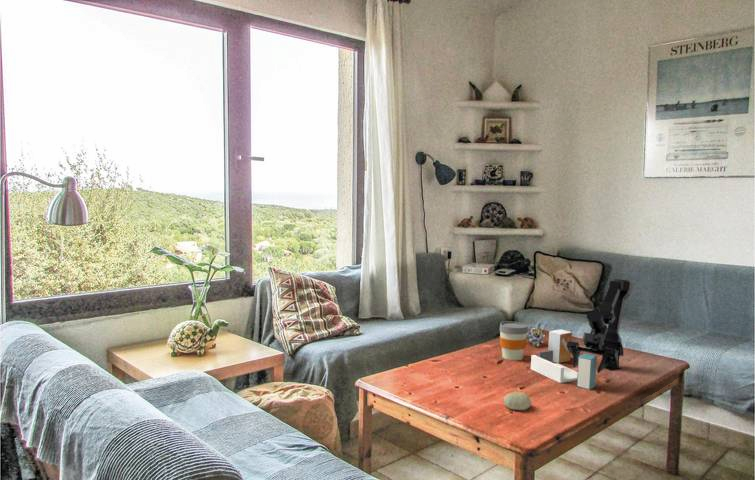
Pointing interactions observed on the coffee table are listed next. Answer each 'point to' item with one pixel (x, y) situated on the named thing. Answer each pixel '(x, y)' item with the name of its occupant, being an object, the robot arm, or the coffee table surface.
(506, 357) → the reusable coffee cup
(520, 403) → the sea urchin shell
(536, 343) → the passion flower
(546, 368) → the shelf
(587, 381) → the teal rectangular block
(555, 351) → the small box
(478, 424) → the coffee table surface
